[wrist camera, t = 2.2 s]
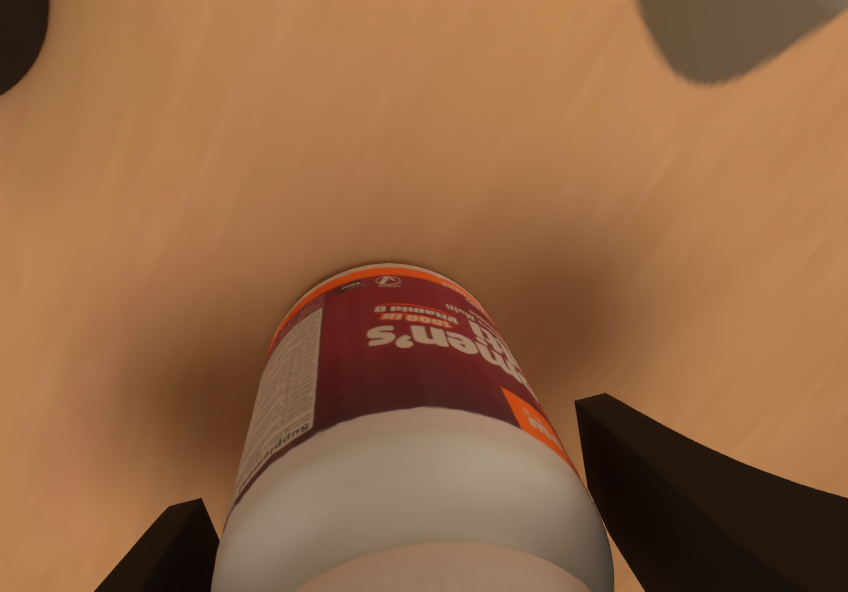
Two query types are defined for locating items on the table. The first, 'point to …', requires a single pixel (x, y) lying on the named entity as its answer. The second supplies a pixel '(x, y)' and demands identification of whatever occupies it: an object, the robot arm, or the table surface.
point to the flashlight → (20, 37)
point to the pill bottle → (403, 455)
